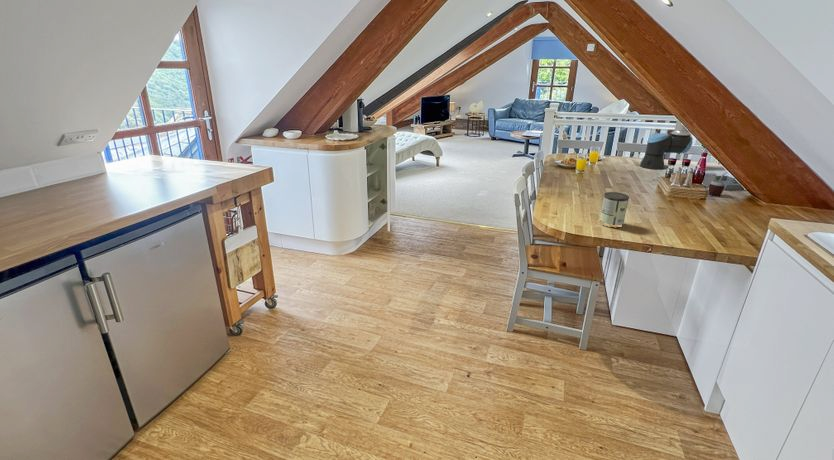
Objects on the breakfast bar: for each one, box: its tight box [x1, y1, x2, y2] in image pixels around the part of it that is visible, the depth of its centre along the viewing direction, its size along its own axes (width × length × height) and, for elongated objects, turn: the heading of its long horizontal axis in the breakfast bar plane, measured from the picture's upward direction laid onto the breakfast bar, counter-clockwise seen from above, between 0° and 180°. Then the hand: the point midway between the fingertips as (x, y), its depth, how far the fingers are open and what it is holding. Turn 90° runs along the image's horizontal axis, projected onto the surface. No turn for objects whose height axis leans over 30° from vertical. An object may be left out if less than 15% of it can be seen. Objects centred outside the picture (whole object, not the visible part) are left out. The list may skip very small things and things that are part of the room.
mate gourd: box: [707, 171, 728, 198], centre depth 229 cm, size 8×8×15 cm
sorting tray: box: [715, 175, 745, 191], centre depth 250 cm, size 20×15×4 cm
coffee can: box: [599, 191, 630, 225], centre depth 188 cm, size 10×10×14 cm
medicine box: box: [703, 171, 718, 188], centre depth 247 cm, size 8×4×9 cm, turn 84°
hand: (711, 161), depth 243 cm, fingers open, 13 cm apart
